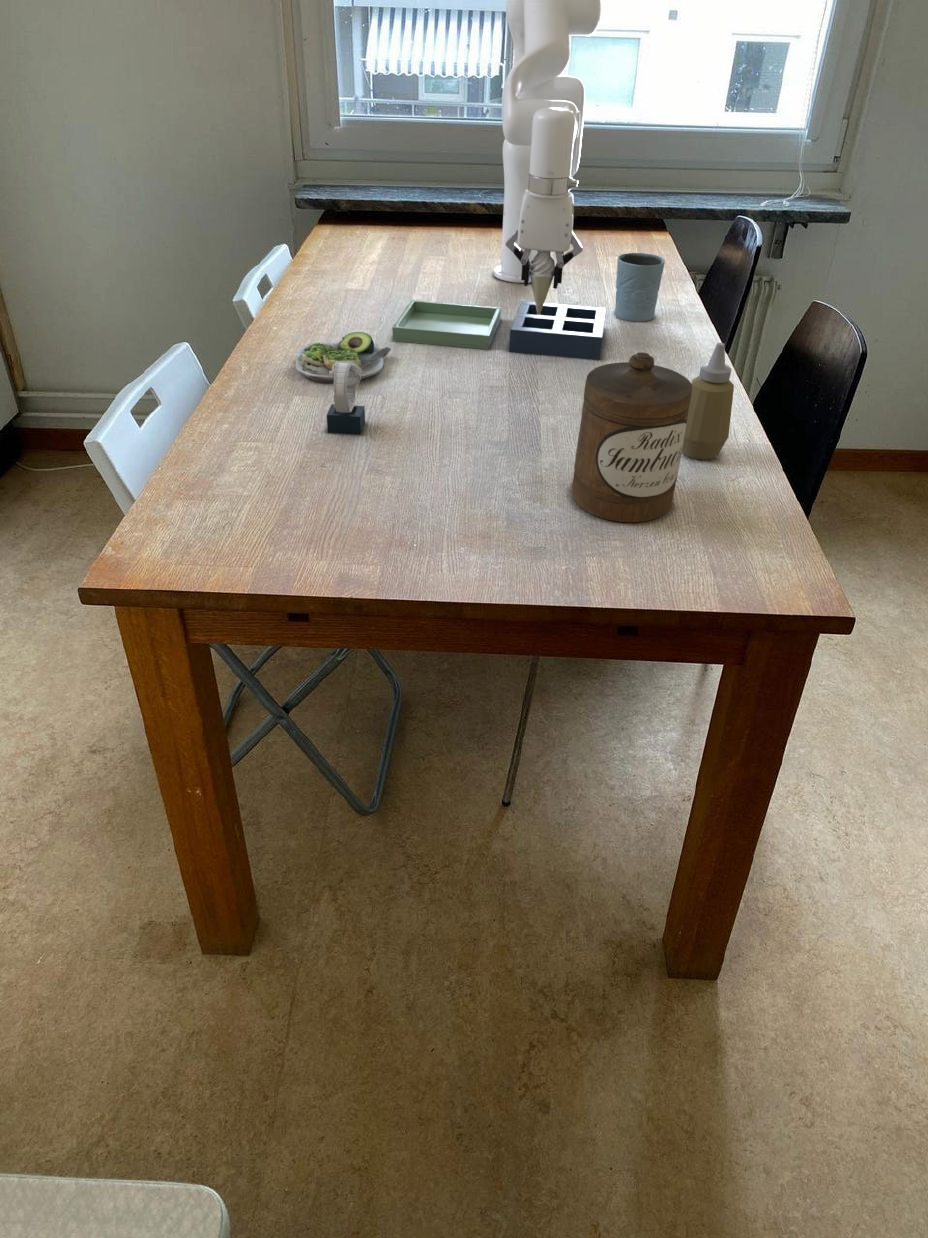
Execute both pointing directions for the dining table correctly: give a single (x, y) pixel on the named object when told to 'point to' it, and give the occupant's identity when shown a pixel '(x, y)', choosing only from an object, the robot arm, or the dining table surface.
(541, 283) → the ice cream cone
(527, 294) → the dining table surface
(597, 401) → the wooden container
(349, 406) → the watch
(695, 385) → the squeeze bottle
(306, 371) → the avocado toast plate
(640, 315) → the blue ceramic cup
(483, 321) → the shallow green box
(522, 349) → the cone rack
